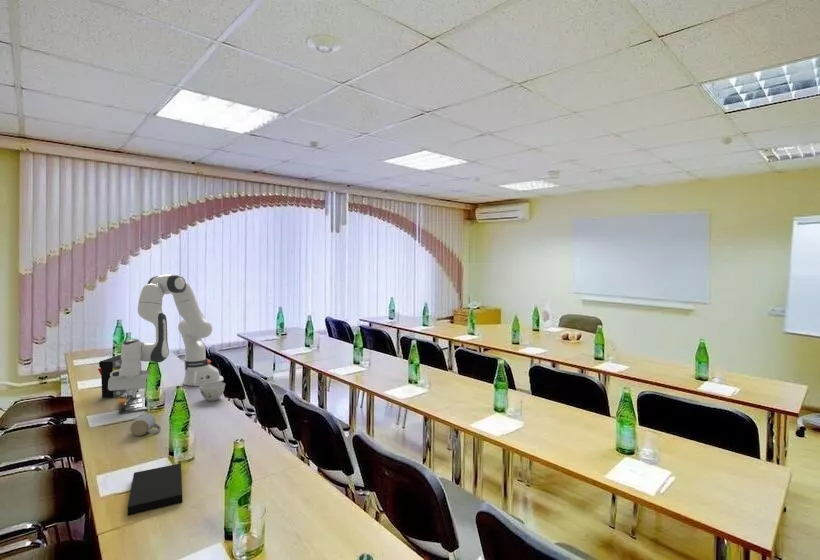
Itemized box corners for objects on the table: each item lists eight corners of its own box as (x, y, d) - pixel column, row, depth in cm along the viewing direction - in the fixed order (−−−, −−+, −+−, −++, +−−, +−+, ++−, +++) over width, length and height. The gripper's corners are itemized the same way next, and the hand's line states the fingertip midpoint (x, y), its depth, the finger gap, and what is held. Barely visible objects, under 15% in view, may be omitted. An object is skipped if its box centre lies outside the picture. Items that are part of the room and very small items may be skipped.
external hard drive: (127, 517, 125) (127, 507, 125) (134, 481, 145) (133, 472, 145) (182, 503, 132) (182, 494, 132) (181, 471, 152) (181, 463, 152)
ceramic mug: (129, 437, 179) (129, 419, 179) (136, 430, 187) (136, 413, 187) (157, 435, 182) (157, 418, 182) (163, 428, 190) (163, 411, 190)
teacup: (196, 399, 229) (196, 384, 229) (220, 394, 238) (220, 380, 238) (206, 406, 219) (205, 390, 218) (230, 400, 227) (230, 385, 227)
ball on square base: (140, 395, 236) (140, 390, 235) (140, 398, 231) (140, 393, 230) (127, 396, 232) (127, 392, 232) (127, 400, 227) (127, 395, 227)
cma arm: (130, 391, 233) (130, 385, 233) (139, 390, 234) (139, 384, 234) (115, 406, 209) (115, 399, 209) (126, 405, 211) (125, 398, 210)
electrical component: (117, 398, 231) (116, 361, 230) (98, 397, 231) (97, 361, 230) (138, 388, 248) (137, 354, 247) (121, 388, 248) (120, 354, 247)
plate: (147, 397, 231) (147, 395, 231) (148, 409, 213) (148, 407, 212) (120, 401, 224) (120, 399, 224) (119, 414, 206) (119, 412, 206)
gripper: (156, 368, 224) (156, 394, 224) (111, 370, 219) (111, 397, 219) (152, 371, 218) (152, 398, 218) (106, 373, 212) (106, 400, 213)
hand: (131, 397), depth 218 cm, fingers closed
